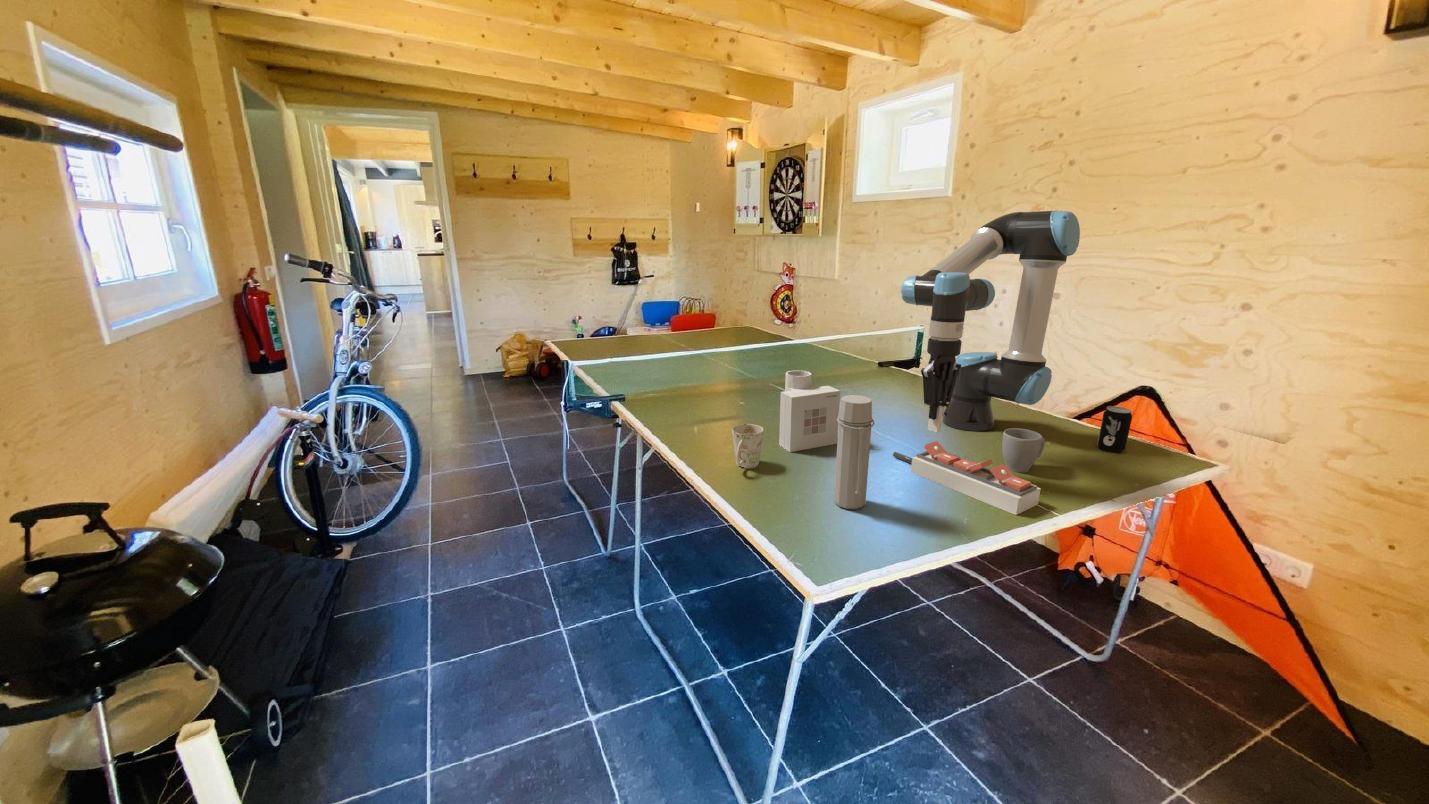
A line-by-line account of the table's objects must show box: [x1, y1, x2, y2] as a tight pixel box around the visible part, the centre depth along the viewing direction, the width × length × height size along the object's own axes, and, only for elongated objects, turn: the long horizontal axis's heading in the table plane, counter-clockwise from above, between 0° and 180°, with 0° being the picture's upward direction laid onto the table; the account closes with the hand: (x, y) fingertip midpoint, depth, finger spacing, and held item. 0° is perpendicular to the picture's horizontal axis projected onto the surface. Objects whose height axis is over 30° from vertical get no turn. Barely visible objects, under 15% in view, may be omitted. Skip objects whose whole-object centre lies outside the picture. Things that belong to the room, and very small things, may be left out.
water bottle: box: [833, 394, 875, 510], centre depth 124 cm, size 9×8×25 cm
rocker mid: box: [953, 458, 994, 473], centre depth 135 cm, size 8×5×2 cm, turn 33°
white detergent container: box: [778, 369, 841, 453], centre depth 167 cm, size 16×19×20 cm
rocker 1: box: [923, 440, 961, 465], centre depth 142 cm, size 8×5×2 cm, turn 34°
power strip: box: [892, 450, 1041, 516], centre depth 139 cm, size 37×9×5 cm, turn 33°
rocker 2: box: [989, 462, 1032, 492], centre depth 127 cm, size 8×5×2 cm, turn 34°
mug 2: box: [1001, 427, 1046, 473], centre depth 146 cm, size 12×9×10 cm
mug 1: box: [731, 423, 765, 469], centre depth 147 cm, size 8×13×10 cm, turn 161°
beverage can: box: [1096, 405, 1133, 454], centre depth 157 cm, size 7×7×12 cm
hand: (934, 430), depth 142 cm, fingers closed
